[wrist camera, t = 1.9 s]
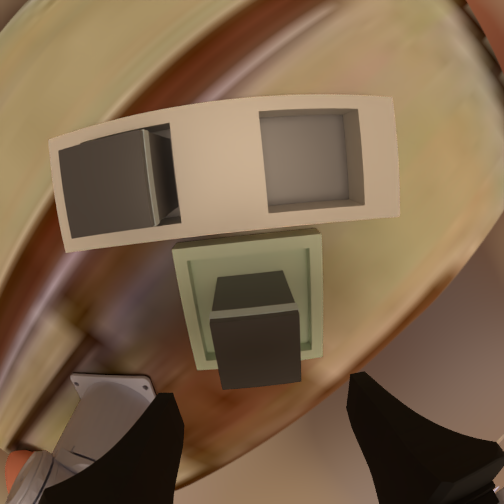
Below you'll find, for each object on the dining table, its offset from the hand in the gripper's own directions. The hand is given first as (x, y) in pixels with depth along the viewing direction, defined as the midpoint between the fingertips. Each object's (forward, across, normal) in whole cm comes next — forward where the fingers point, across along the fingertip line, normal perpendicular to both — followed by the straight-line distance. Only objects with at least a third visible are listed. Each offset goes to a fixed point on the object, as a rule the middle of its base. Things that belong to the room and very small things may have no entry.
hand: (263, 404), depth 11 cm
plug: (+10, 0, 0) cm, 10 cm away
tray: (+10, 0, 0) cm, 10 cm away
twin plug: (+10, +6, -9) cm, 14 cm away
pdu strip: (+10, +1, -9) cm, 14 cm away
